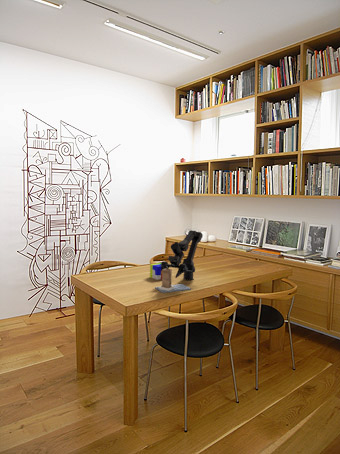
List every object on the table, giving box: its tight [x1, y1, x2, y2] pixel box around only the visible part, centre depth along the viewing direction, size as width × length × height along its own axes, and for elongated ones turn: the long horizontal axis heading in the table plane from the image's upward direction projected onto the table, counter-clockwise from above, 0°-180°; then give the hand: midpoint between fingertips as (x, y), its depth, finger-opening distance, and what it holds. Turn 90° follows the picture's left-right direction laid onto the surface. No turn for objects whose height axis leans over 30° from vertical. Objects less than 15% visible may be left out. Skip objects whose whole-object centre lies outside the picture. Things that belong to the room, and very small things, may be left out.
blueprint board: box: [154, 283, 192, 294], centre depth 227 cm, size 21×12×2 cm, turn 117°
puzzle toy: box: [149, 262, 164, 281], centre depth 257 cm, size 10×10×10 cm
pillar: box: [161, 268, 172, 288], centre depth 224 cm, size 4×4×13 cm
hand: (169, 276), depth 227 cm, fingers open, 9 cm apart
